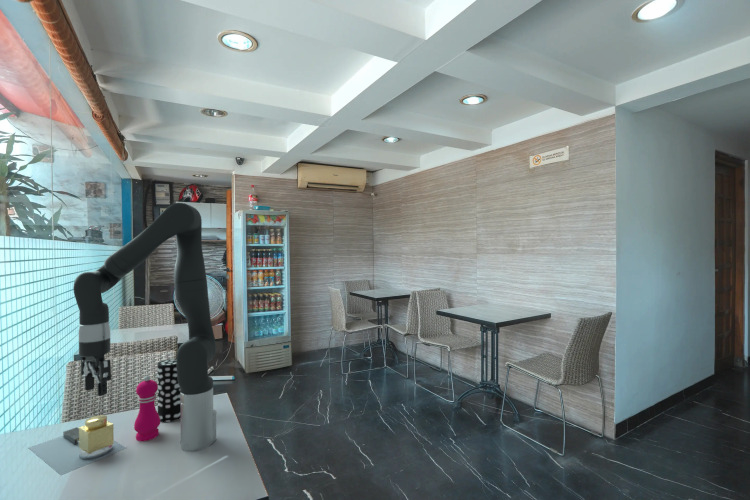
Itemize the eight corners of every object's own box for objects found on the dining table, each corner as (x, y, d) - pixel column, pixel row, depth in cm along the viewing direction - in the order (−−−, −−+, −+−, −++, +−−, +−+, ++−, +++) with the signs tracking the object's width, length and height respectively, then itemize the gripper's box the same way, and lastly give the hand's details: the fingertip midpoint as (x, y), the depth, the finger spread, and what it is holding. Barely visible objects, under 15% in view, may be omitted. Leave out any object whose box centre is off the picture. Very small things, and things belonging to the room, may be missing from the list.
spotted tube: (154, 423, 129) (154, 366, 129) (161, 413, 137) (161, 359, 137) (180, 420, 131) (180, 364, 131) (186, 410, 139) (185, 357, 139)
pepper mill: (165, 432, 123) (164, 372, 123) (150, 443, 115) (149, 380, 115) (145, 431, 123) (144, 371, 123) (128, 442, 116) (128, 379, 116)
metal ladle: (84, 429, 124) (84, 413, 124) (117, 449, 111) (117, 431, 111) (54, 440, 117) (54, 423, 117) (86, 463, 104) (85, 443, 104)
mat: (90, 427, 126) (90, 426, 126) (126, 449, 112) (126, 447, 112) (27, 449, 113) (27, 447, 113) (60, 476, 99) (60, 475, 99)
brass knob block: (104, 438, 114) (103, 412, 114) (113, 443, 111) (113, 417, 111) (79, 447, 109) (78, 420, 109) (88, 453, 106) (87, 426, 105)
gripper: (120, 338, 109) (121, 392, 109) (98, 333, 117) (99, 384, 117) (90, 343, 103) (91, 401, 103) (69, 338, 110) (70, 392, 110)
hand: (95, 392), depth 110 cm, fingers open, 8 cm apart
